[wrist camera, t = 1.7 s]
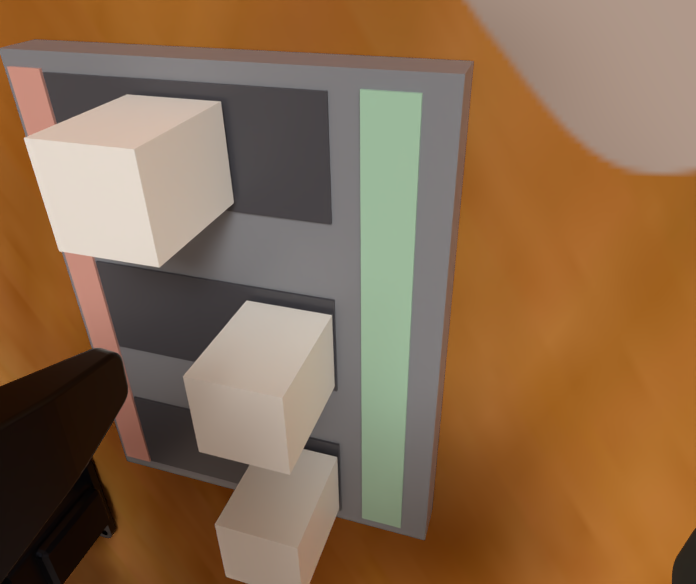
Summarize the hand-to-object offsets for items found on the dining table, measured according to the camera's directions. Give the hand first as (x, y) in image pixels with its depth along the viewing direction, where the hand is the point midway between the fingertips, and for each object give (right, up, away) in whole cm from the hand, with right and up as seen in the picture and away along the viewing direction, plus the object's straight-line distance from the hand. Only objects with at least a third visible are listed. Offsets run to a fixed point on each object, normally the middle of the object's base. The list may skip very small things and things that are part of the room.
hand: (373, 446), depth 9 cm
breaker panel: (-4, +2, +13) cm, 14 cm away
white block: (-2, -5, +15) cm, 16 cm away
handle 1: (-5, +7, +8) cm, 12 cm away
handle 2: (-2, +1, +11) cm, 11 cm away
